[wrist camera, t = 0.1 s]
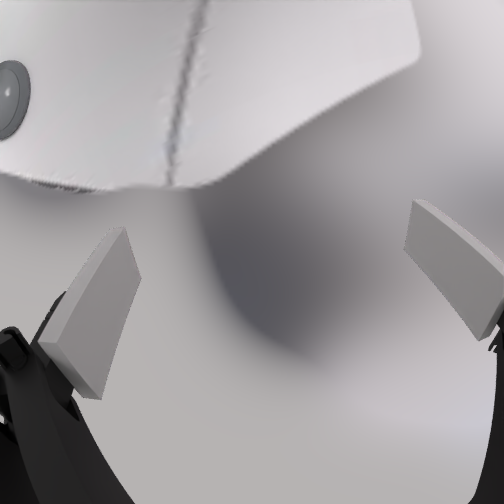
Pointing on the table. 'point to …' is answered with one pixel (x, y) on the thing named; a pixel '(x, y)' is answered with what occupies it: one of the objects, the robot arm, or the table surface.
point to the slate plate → (13, 96)
